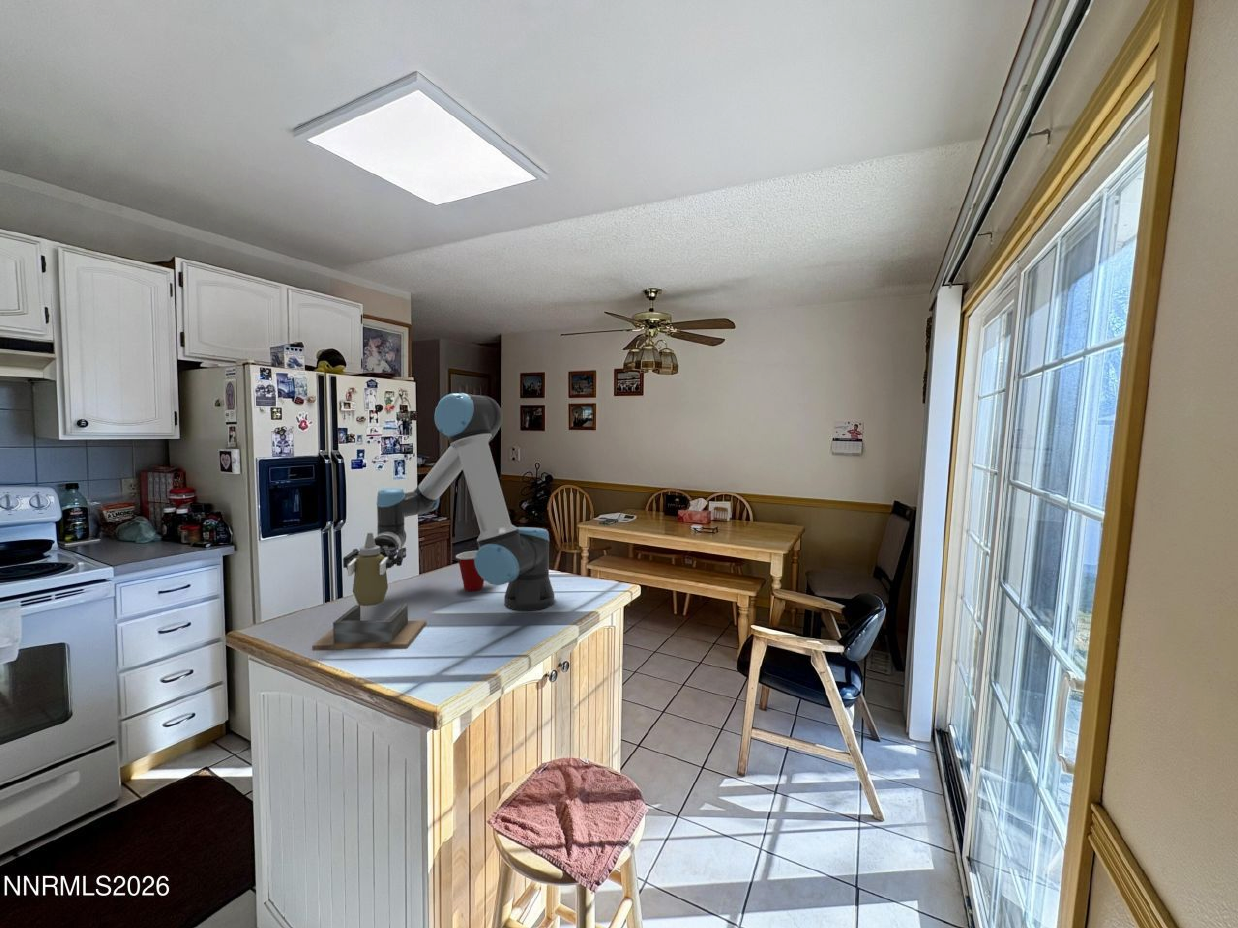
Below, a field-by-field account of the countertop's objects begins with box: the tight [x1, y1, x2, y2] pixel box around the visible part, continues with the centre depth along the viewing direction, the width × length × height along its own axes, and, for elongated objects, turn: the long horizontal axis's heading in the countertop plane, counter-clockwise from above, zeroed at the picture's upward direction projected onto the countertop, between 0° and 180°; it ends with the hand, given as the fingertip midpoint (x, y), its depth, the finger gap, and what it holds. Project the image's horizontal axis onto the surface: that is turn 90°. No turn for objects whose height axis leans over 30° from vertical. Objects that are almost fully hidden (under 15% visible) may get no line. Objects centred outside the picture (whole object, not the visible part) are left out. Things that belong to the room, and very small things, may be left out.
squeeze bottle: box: [352, 532, 389, 607], centre depth 129 cm, size 8×8×18 cm
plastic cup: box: [455, 550, 485, 592], centre depth 168 cm, size 11×11×12 cm
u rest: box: [311, 604, 427, 650], centre depth 129 cm, size 22×15×6 cm
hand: (365, 569), depth 124 cm, fingers closed on squeeze bottle, 6 cm apart
